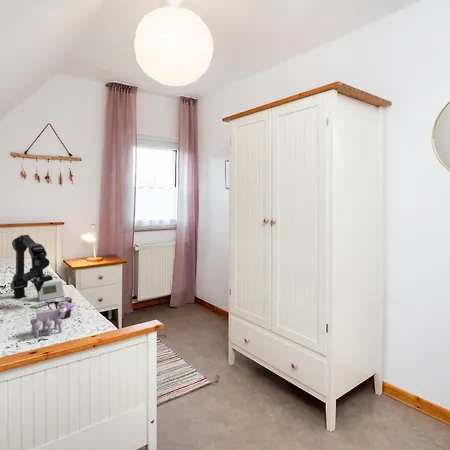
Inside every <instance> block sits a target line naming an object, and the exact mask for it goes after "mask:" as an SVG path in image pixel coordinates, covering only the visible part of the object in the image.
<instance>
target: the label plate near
mask: <svg viewBox="0 0 450 450" xmlns="http://www.w3.org/2000/svg"><path fill="white" fill-rule="evenodd" d="M47 306H48V303H45V302H41V303H37V304H34V305H32V306H31V305H30V306H29V308H31V309H36V310H38V309H40V308H41V309H42V308H43V307H47Z"/></svg>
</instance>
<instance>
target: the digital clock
mask: <svg viewBox="0 0 450 450" xmlns="http://www.w3.org/2000/svg"><path fill="white" fill-rule="evenodd" d="M36 293H37V298H38V302H43V301H44V302H47V301H50V300H54V299H57V298H61V297H66V296H65V295H66V294H65V289H64V282H63V280H56V281H47V282H44V284H43V286H42V288H41V290H40V292H37V291H36Z"/></svg>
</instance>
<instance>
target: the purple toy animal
mask: <svg viewBox="0 0 450 450" xmlns="http://www.w3.org/2000/svg"><path fill="white" fill-rule="evenodd" d="M75 306H77V304H74V303H72V304H71V303H68V302H59V303H58V304H57V309H56V308H51V309H46V310H40V311H36V312H35V313H36V314H35V315H36V318H35V317H34V318H31V320H30V324H31V334H35V338H37V337H38V338H39V337H40V333H39V329H40V327H41V322H42V328H41V329H42V330H41V331H42V332H46V331H45V330H46V328H47V332H48V333H47V334H49V335H48V336H51V335H50V334H53V333H52V325H53V322H54V327H53V329H54V330H57V329H58V333H59V334H61V332H62V333H63V327H62V323H63V319H60V318H64V316H65V313H66V312H67V311H68V310H70V309H71V310H72V309H73V308H74V307H75ZM58 313H59V314H58ZM57 314H58V315H57ZM52 321H53V322H52ZM56 328H57V329H56ZM38 338H37V339H38Z"/></svg>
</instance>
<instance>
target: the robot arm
mask: <svg viewBox="0 0 450 450" xmlns="http://www.w3.org/2000/svg"><path fill="white" fill-rule="evenodd" d="M11 244H12V245H11V246H12V249H13V251H15V274H14V275H13V277H12V280H11V283H10V285H9V287H10V290H12V291H13V296H11V299H17V300H19V299H22V298H26V297H28V296H27V295H26V294H25V293H26V291H25V289H26V288H28V284H29V282H31V283H33V285H34V287H35V288H34V289H35V290H36V293H37V292H40V290H41V288H42V286H43V284H44V283H48V282H52V281H53V280H54V279H53V275H49V274H46V275H45V273H44V270H45V269H47V268H48V267H49V265H50V260H49V258H47V256H48V255H47V254H48V253H47V251H46V248H45V247H44V246H43V245H42V244H41V243H37V242H36V241H35V240H33V239H32V238H31V236H30V235H29V234H21V235H19V236H18V237H15V238H14V239H13V240H12V241H11ZM27 249H28V253H29V255H30V258H31V267H30V268H29V271H27V272H26V273H25V252H26V251H27Z"/></svg>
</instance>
